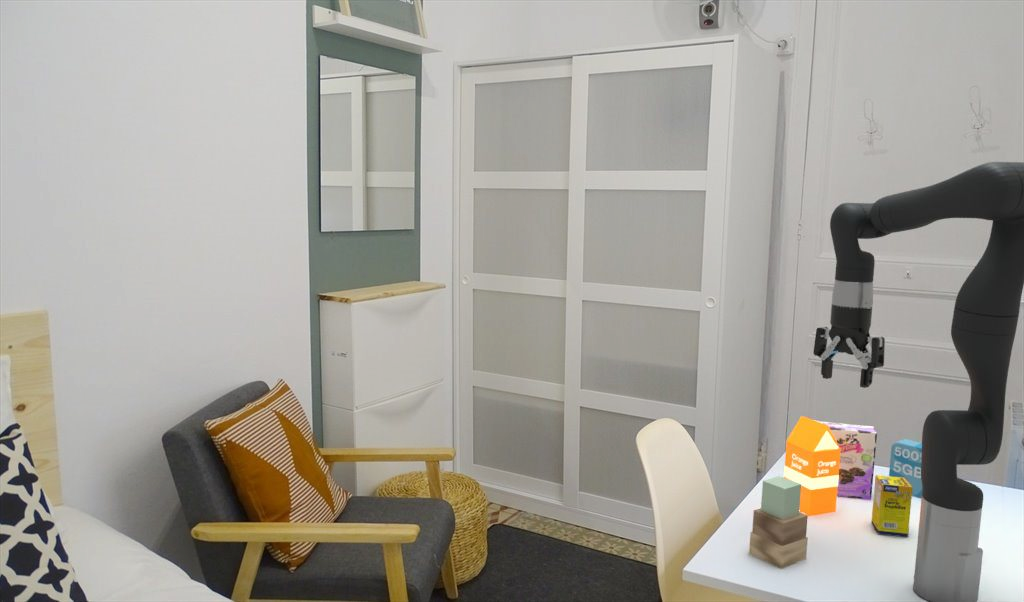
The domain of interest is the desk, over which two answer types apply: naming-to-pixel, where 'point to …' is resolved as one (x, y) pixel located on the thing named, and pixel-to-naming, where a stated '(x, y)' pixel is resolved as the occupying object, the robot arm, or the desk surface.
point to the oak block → (777, 551)
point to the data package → (907, 463)
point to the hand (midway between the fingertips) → (845, 382)
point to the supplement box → (891, 505)
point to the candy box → (855, 458)
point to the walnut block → (779, 527)
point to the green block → (781, 497)
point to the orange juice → (813, 465)
